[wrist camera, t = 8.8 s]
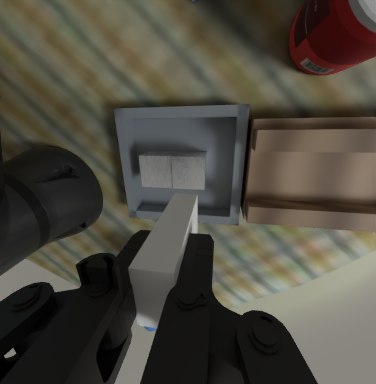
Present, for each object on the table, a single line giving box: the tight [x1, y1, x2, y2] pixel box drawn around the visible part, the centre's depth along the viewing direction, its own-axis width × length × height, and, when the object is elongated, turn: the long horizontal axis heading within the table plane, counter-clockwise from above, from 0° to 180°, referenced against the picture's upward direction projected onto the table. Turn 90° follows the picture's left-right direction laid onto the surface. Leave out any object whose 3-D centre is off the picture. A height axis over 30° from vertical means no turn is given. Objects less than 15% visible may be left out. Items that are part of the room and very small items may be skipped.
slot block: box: [241, 117, 376, 232], centre depth 20 cm, size 17×12×6 cm
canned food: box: [289, 0, 376, 75], centre depth 14 cm, size 8×8×11 cm
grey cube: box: [171, 152, 208, 190], centre depth 24 cm, size 4×4×4 cm
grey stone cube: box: [139, 151, 178, 188], centre depth 24 cm, size 4×4×4 cm
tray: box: [114, 104, 250, 225], centre depth 25 cm, size 16×15×3 cm
